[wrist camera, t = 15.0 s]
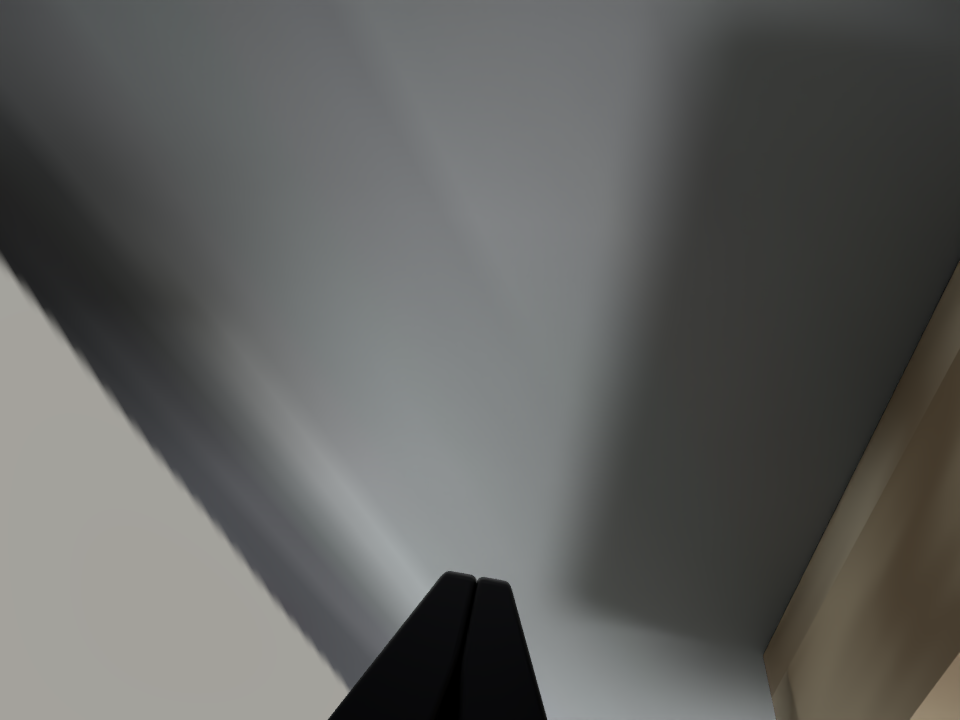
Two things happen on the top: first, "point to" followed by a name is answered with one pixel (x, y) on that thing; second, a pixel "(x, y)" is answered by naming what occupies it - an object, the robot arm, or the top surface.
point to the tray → (887, 562)
